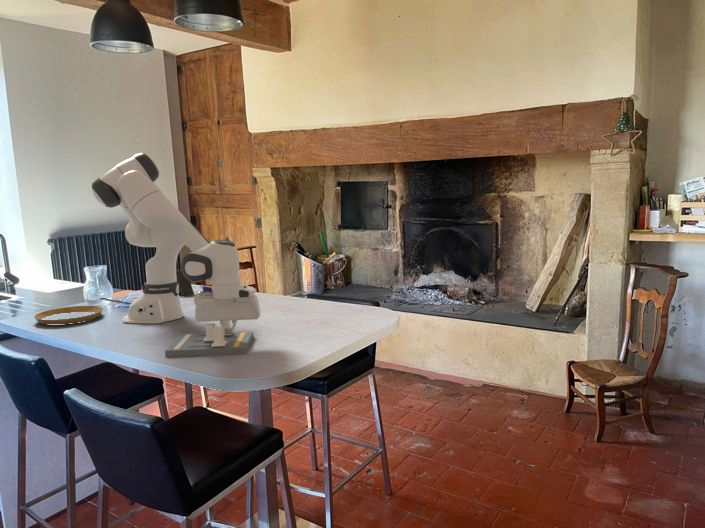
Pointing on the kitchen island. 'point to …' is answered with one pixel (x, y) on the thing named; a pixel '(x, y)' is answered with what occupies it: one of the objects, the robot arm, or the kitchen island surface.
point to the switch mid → (209, 332)
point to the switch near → (218, 337)
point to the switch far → (228, 324)
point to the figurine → (206, 288)
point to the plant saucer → (68, 310)
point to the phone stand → (183, 284)
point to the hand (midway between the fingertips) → (229, 333)
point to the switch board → (209, 345)
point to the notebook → (121, 293)
